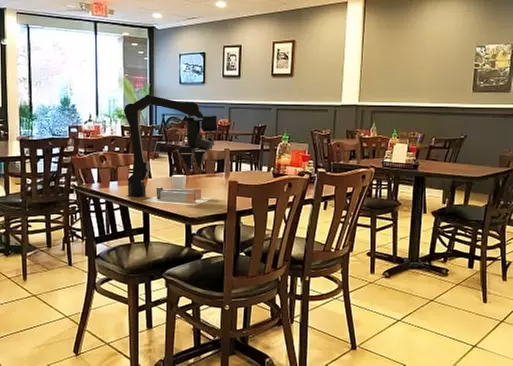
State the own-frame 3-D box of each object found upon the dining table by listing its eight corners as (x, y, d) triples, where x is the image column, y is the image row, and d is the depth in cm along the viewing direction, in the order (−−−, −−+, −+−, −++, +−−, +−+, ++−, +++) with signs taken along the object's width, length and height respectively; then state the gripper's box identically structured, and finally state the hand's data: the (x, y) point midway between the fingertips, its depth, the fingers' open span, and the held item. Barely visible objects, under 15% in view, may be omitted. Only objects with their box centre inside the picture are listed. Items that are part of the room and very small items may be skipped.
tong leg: (156, 198, 214) (156, 188, 213) (156, 197, 216) (156, 187, 216) (200, 198, 217) (201, 187, 217) (200, 197, 220) (200, 186, 219)
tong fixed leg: (160, 200, 211) (160, 191, 211) (162, 199, 213) (162, 190, 213) (193, 202, 207) (193, 193, 206) (195, 201, 209) (195, 193, 208)
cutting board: (141, 202, 209) (141, 200, 209) (163, 195, 226) (163, 194, 226) (195, 206, 201) (195, 205, 201) (213, 199, 218) (213, 198, 218)
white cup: (175, 191, 237) (175, 176, 236) (169, 190, 243) (168, 175, 242) (189, 190, 241) (188, 175, 240) (182, 188, 247) (182, 174, 246)
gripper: (201, 133, 208) (202, 171, 211) (219, 131, 226) (220, 166, 228) (176, 133, 212) (178, 170, 214) (196, 131, 230) (197, 166, 232)
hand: (194, 168), depth 222 cm, fingers open, 9 cm apart
